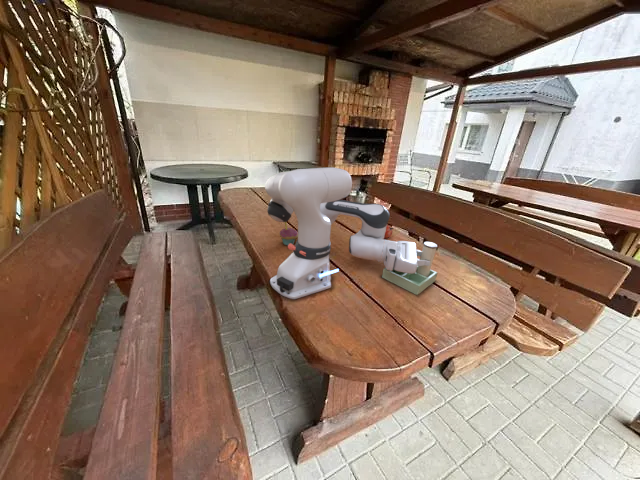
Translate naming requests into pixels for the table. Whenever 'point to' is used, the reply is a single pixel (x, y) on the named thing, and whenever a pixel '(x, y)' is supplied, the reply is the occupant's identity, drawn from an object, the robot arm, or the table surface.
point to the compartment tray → (410, 280)
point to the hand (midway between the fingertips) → (429, 259)
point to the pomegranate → (388, 232)
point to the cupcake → (288, 235)
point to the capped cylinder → (427, 254)
